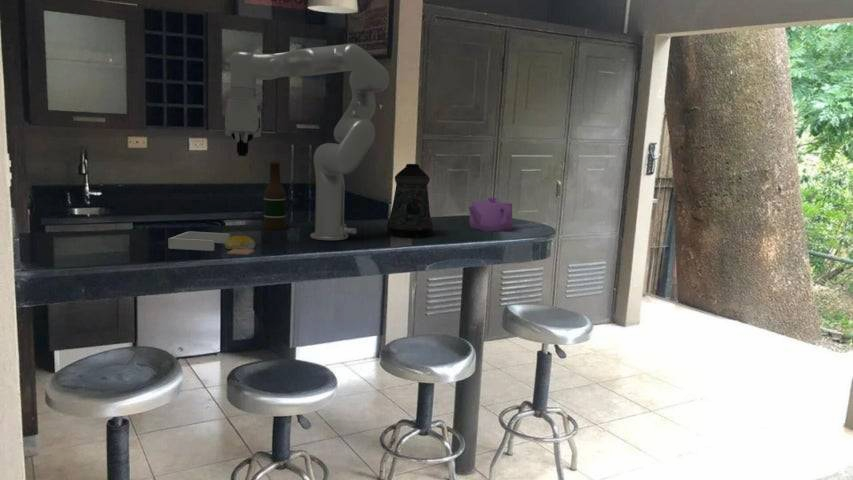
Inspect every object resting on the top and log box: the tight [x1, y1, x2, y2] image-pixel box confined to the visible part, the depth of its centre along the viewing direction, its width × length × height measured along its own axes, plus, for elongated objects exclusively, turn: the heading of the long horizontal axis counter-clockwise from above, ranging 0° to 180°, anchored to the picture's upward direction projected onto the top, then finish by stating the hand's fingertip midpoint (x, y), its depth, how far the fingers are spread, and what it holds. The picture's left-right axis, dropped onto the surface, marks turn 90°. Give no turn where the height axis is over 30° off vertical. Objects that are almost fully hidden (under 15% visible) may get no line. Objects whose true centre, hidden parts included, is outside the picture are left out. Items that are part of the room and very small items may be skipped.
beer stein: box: [386, 163, 434, 239], centre depth 249 cm, size 16×19×25 cm
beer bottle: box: [263, 160, 287, 231], centre depth 250 cm, size 8×8×24 cm
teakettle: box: [468, 196, 513, 233], centre depth 272 cm, size 17×17×12 cm
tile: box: [226, 249, 255, 256], centre depth 204 cm, size 6×6×1 cm
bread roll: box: [224, 235, 256, 250], centre depth 212 cm, size 8×9×4 cm
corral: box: [167, 231, 231, 252], centre depth 213 cm, size 14×14×3 cm
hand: (242, 155), depth 213 cm, fingers closed
